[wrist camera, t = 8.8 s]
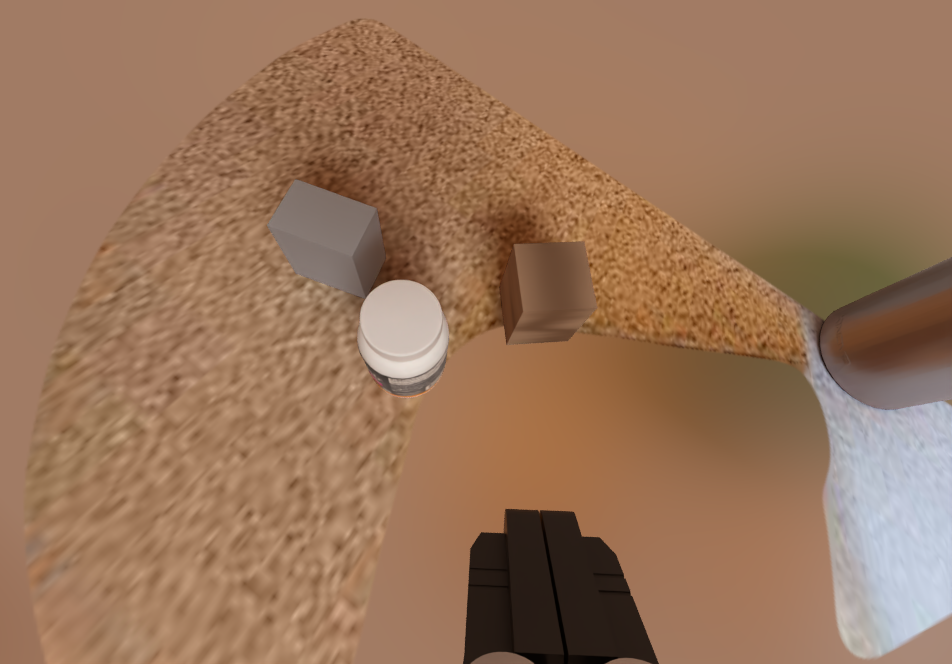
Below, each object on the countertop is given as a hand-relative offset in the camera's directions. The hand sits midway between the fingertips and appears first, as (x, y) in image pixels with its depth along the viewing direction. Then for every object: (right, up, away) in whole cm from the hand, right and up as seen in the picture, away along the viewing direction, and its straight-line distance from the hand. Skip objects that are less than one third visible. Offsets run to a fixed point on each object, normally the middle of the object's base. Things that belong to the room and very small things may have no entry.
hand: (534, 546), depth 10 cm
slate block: (-12, +10, +27) cm, 31 cm away
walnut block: (+3, +6, +27) cm, 28 cm away
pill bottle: (-6, +2, +25) cm, 26 cm away
